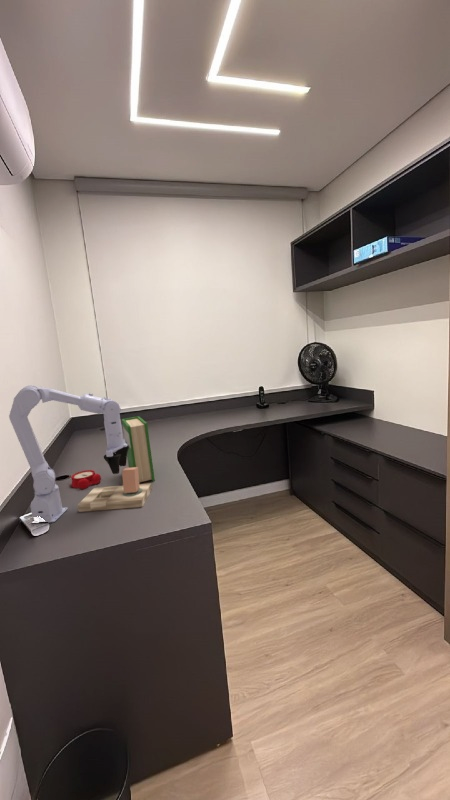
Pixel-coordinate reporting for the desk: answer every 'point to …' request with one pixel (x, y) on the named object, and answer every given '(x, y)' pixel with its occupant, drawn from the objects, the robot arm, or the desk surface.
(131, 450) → the hardback book
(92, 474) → the alarm clock
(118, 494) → the pocket board
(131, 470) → the peg
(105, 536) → the desk surface
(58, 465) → the desk surface
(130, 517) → the desk surface
